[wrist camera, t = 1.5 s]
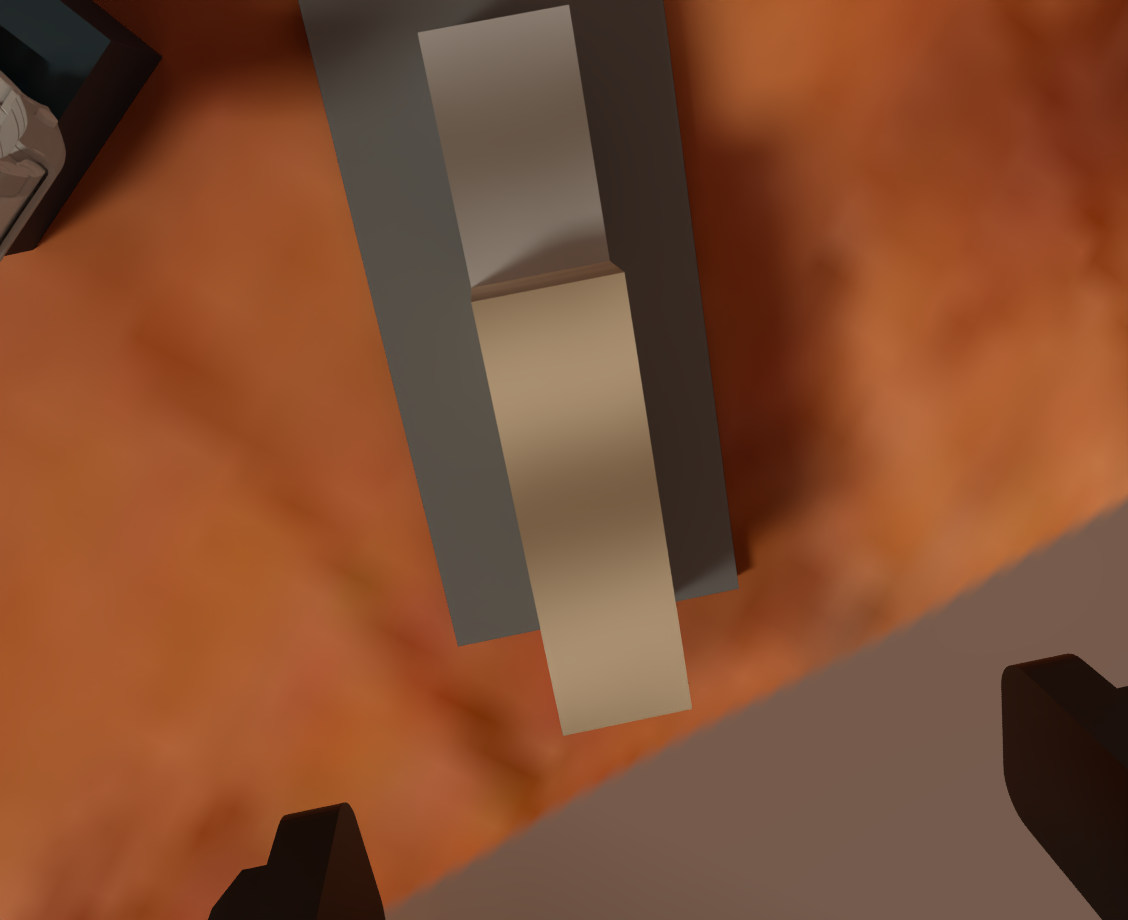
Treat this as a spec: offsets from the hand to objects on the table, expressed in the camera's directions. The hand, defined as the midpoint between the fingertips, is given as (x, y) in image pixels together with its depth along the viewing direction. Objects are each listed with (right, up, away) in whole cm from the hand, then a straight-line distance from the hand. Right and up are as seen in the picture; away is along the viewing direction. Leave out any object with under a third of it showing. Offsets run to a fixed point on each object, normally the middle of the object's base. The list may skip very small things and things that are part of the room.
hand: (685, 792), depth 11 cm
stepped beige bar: (-2, +7, +12) cm, 14 cm away
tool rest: (-2, +8, +12) cm, 15 cm away
